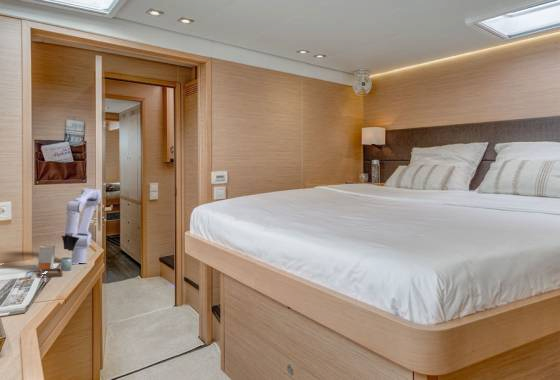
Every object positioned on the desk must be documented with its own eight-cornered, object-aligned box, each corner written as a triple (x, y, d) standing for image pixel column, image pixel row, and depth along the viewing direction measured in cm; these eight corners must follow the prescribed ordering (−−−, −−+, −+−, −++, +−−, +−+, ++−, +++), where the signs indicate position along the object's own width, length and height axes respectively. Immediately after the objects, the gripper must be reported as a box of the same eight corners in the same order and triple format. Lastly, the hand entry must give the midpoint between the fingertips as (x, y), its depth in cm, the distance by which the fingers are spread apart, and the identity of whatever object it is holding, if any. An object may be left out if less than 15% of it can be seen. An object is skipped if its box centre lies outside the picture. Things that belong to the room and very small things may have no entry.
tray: (39, 272, 179) (39, 269, 179) (60, 271, 184) (60, 268, 184) (40, 277, 172) (40, 274, 172) (62, 276, 177) (62, 272, 177)
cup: (59, 268, 189) (60, 257, 189) (70, 268, 192) (71, 257, 191) (60, 271, 185) (61, 259, 185) (71, 270, 188) (72, 259, 187)
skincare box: (37, 270, 183) (39, 246, 183) (40, 267, 187) (42, 245, 187) (50, 270, 185) (52, 247, 184) (53, 268, 189) (55, 245, 188)
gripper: (60, 222, 191) (56, 248, 190) (67, 223, 181) (63, 250, 179) (74, 223, 196) (70, 248, 195) (82, 224, 186) (79, 251, 184)
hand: (68, 250), depth 187 cm, fingers open, 7 cm apart
